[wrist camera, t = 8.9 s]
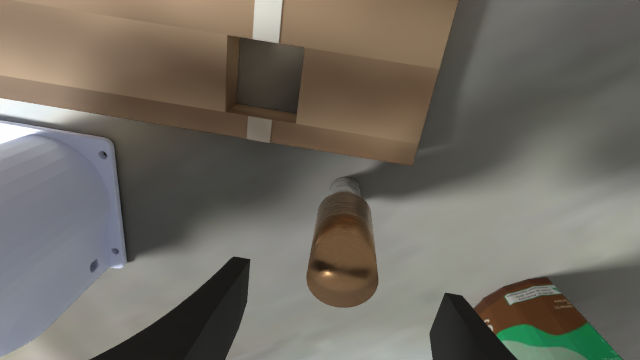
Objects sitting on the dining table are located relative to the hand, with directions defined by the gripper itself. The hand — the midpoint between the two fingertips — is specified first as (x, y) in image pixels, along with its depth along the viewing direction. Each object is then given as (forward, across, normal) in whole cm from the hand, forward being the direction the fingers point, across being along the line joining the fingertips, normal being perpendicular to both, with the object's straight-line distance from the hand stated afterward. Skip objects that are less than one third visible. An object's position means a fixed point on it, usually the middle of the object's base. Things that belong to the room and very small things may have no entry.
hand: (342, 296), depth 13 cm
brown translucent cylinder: (+9, 0, 0) cm, 9 cm away
